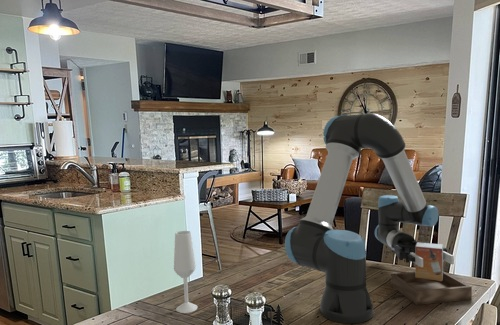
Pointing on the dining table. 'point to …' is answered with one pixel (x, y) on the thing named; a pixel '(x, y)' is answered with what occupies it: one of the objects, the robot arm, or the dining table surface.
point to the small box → (430, 261)
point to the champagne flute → (184, 265)
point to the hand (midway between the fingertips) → (437, 261)
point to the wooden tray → (431, 288)
